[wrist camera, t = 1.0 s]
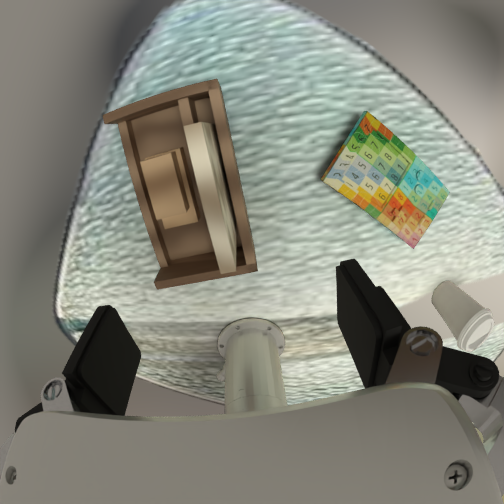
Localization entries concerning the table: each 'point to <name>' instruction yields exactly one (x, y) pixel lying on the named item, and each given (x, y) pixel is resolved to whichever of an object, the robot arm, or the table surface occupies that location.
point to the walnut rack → (172, 137)
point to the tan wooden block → (171, 188)
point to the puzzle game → (386, 180)
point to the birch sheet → (213, 191)
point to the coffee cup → (463, 316)
